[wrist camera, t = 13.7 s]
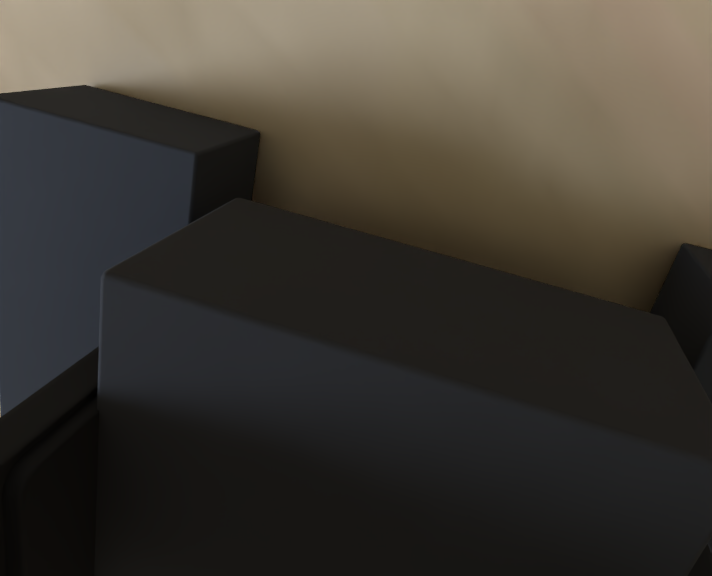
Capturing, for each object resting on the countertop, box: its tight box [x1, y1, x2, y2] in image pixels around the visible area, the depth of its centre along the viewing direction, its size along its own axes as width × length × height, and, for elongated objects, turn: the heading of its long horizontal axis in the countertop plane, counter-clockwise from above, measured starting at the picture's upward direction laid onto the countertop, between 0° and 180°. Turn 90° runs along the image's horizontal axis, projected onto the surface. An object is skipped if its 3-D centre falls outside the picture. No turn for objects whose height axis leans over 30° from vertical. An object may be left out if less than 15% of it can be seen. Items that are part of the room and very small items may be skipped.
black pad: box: [94, 198, 712, 576], centre depth 9 cm, size 7×7×4 cm
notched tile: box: [0, 85, 712, 554], centre depth 12 cm, size 12×15×2 cm
